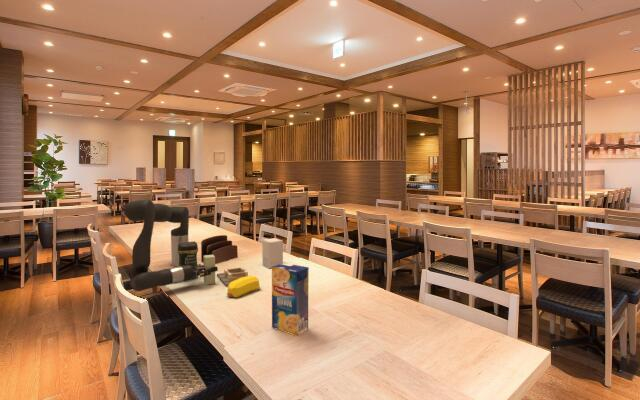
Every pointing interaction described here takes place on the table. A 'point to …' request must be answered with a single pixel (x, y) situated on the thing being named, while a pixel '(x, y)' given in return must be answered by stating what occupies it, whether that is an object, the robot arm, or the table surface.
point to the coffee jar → (188, 254)
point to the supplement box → (272, 252)
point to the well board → (232, 275)
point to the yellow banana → (243, 286)
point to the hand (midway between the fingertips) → (214, 267)
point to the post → (208, 263)
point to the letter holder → (218, 248)
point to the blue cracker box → (290, 297)
